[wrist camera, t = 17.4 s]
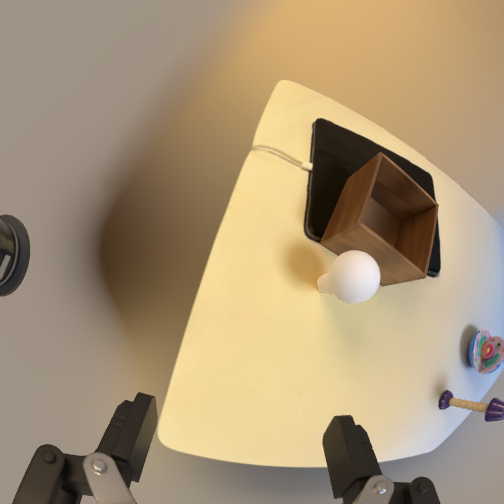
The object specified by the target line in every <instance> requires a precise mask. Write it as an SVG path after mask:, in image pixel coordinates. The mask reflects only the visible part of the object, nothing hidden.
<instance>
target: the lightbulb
mask: <svg viewBox="0 0 504 504" xmlns="http://www.w3.org/2000/svg"><path fill="white" fill-rule="evenodd" d="M379 284H380V270H379V267H378V265H377V263H376V261H375V260H374V259H373V258H372V257H371V256H370V255H369V254H367V253H365V252H362V251H358V250H352V251H347V252H344V253H342V254H341V255H339V256H338V257H337V258H336V259H335V260H334V262H333V263H332V265H331V267H330V270H329V271H328V272H326V273H325V274H324V275H322V276H320V277H319V278H318V280H317V287H318V289H319V291H320V292H322V293H329V294H334V295H335V296H336V297H337V298H338V299H339V300H341V301H343V302H346V303H349V304H360V303H363V302H365V301H367V300H368V299H370V298H371V297H372V296H373V295H374V294H375V293H376V291H377V289H378V287H379Z"/></svg>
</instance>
